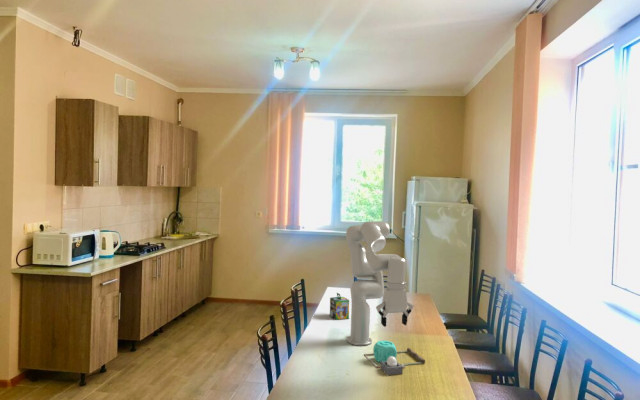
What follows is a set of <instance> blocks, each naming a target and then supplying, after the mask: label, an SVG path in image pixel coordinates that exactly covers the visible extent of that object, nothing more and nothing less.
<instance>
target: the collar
mask: <svg viewBox="0 0 640 400" xmlns="http://www.w3.org/2000/svg"><path fill="white" fill-rule="evenodd" d="M400 364H401V363H399V362H398V361H397V366H395V367H388V366H387V361H384V362H381V363H380V366H381V368H380V369H381V371H383V372H384V374H386V375H387V376H391V375H392V376H393V375H402V374H403V369H404V368H403V367H402V366H401V365H400Z"/></svg>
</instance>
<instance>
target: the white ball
mask: <svg viewBox="0 0 640 400" xmlns="http://www.w3.org/2000/svg"><path fill="white" fill-rule="evenodd" d="M397 362H398V361H397V357H396V358H395V357H393V356H390V357H389V358H388V359H387V366H388V367H395V366H397Z"/></svg>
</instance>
